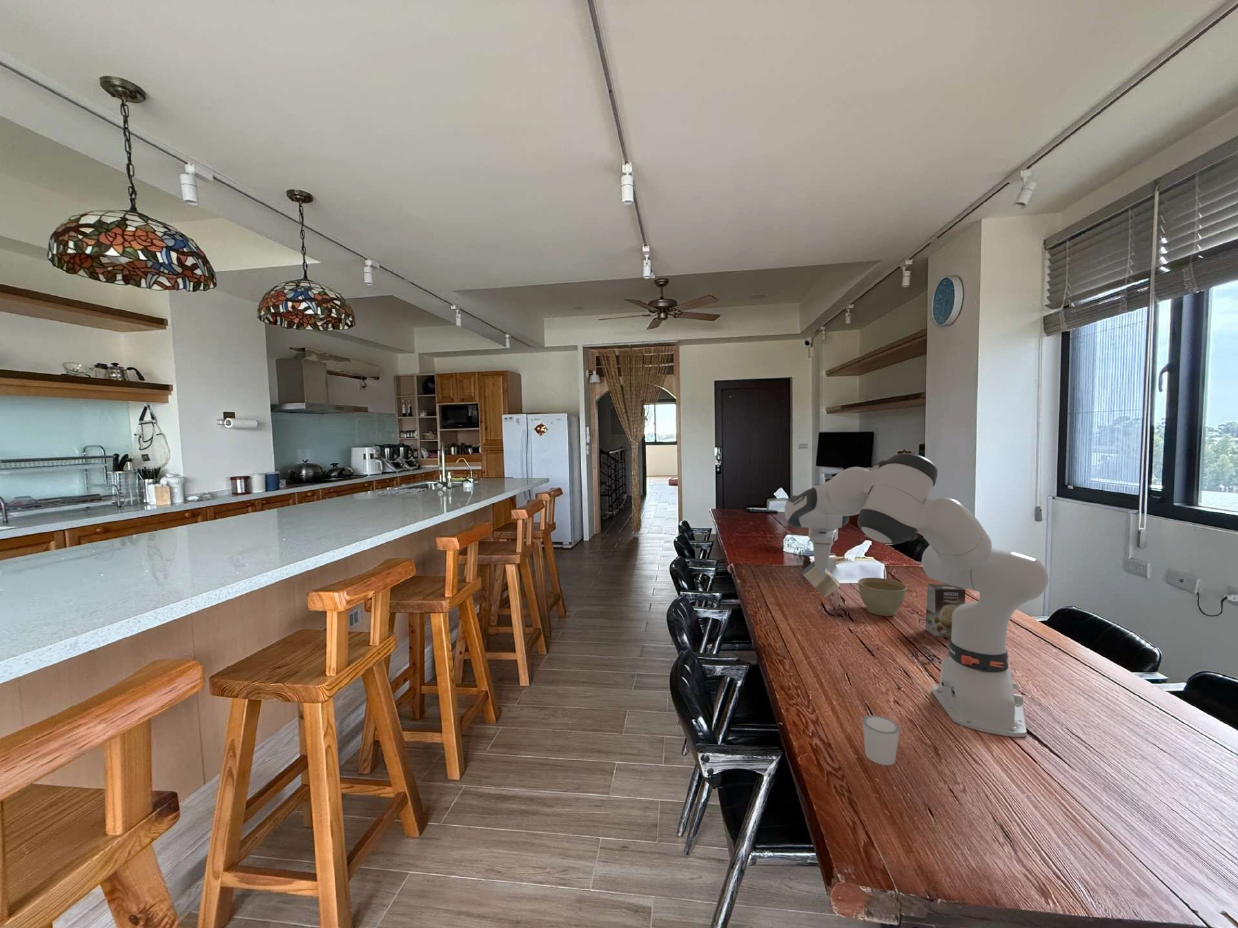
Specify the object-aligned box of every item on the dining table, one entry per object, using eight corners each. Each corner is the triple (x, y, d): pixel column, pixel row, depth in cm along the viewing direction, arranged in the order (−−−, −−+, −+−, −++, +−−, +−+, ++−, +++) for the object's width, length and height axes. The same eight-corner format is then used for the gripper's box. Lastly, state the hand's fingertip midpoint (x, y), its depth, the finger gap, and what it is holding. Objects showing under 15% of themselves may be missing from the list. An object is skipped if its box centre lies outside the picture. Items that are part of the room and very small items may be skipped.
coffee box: (934, 636, 164) (936, 588, 163) (924, 629, 170) (926, 583, 169) (964, 637, 163) (966, 589, 162) (953, 630, 169) (954, 583, 168)
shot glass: (866, 741, 109) (866, 710, 108) (901, 754, 104) (902, 722, 104) (858, 757, 103) (858, 725, 103) (895, 771, 99) (896, 737, 98)
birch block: (839, 586, 158) (816, 562, 160) (824, 597, 160) (801, 573, 162) (839, 582, 163) (816, 558, 165) (824, 593, 165) (802, 569, 167)
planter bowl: (863, 618, 181) (863, 588, 180) (853, 603, 196) (853, 576, 196) (912, 621, 177) (913, 591, 176) (898, 606, 193) (898, 578, 192)
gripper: (814, 527, 172) (813, 566, 173) (810, 538, 154) (809, 581, 154) (834, 528, 170) (833, 568, 170) (833, 539, 151) (831, 584, 152)
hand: (822, 574), depth 162 cm, fingers closed on birch block, 5 cm apart
